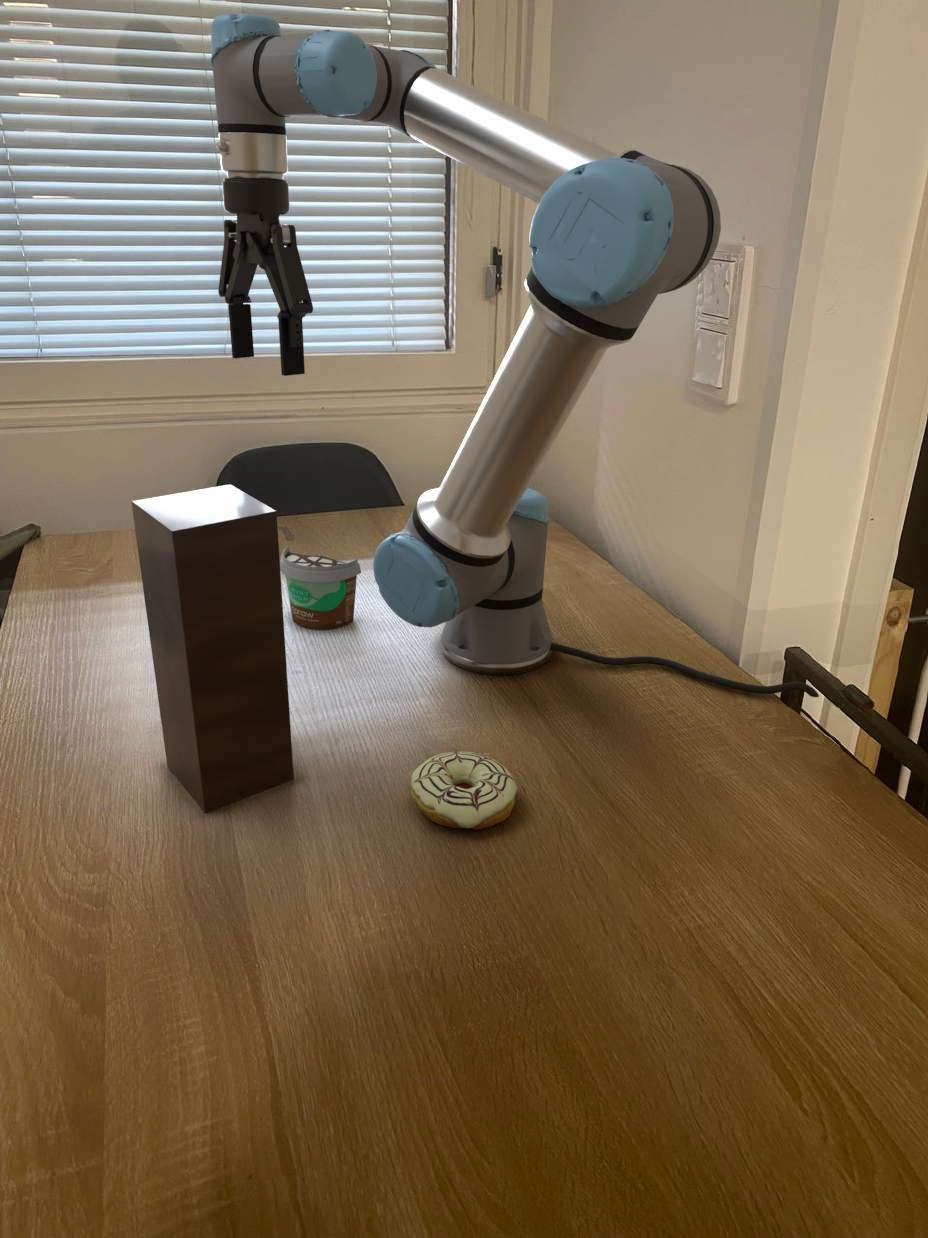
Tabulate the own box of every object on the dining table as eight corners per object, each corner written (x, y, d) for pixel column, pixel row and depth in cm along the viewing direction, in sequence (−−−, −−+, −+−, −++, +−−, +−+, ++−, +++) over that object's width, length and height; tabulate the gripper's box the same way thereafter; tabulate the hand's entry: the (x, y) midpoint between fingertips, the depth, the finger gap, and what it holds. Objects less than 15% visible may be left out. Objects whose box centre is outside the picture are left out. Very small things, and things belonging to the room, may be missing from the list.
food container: (266, 624, 131) (261, 559, 126) (289, 607, 136) (285, 545, 131) (341, 640, 127) (339, 574, 122) (362, 623, 132) (360, 559, 127)
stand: (167, 766, 98) (131, 500, 86) (252, 737, 104) (230, 484, 91) (204, 813, 91) (171, 531, 78) (294, 779, 97) (276, 510, 84)
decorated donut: (477, 852, 87) (478, 820, 85) (390, 810, 93) (390, 779, 91) (533, 799, 95) (535, 769, 93) (450, 763, 100) (451, 734, 99)
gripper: (181, 174, 111) (198, 352, 120) (275, 176, 93) (287, 385, 103) (238, 176, 115) (250, 348, 124) (339, 178, 98) (344, 379, 107)
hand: (267, 365), depth 114 cm, fingers open, 13 cm apart
